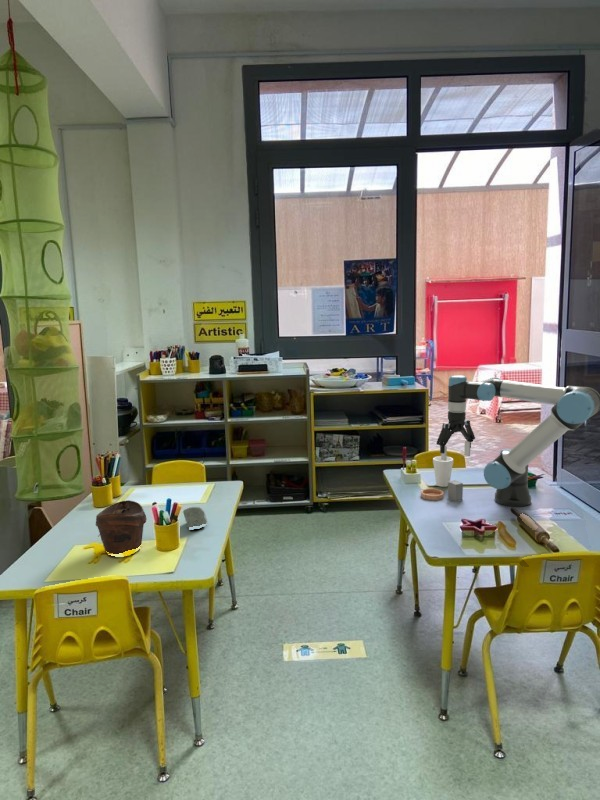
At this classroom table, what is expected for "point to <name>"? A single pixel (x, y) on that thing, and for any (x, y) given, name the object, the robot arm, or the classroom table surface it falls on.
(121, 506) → the chocolate muffin
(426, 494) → the terracotta dish
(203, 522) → the decorative stone
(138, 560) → the classroom table surface
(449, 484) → the stone block
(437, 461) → the foam cup
